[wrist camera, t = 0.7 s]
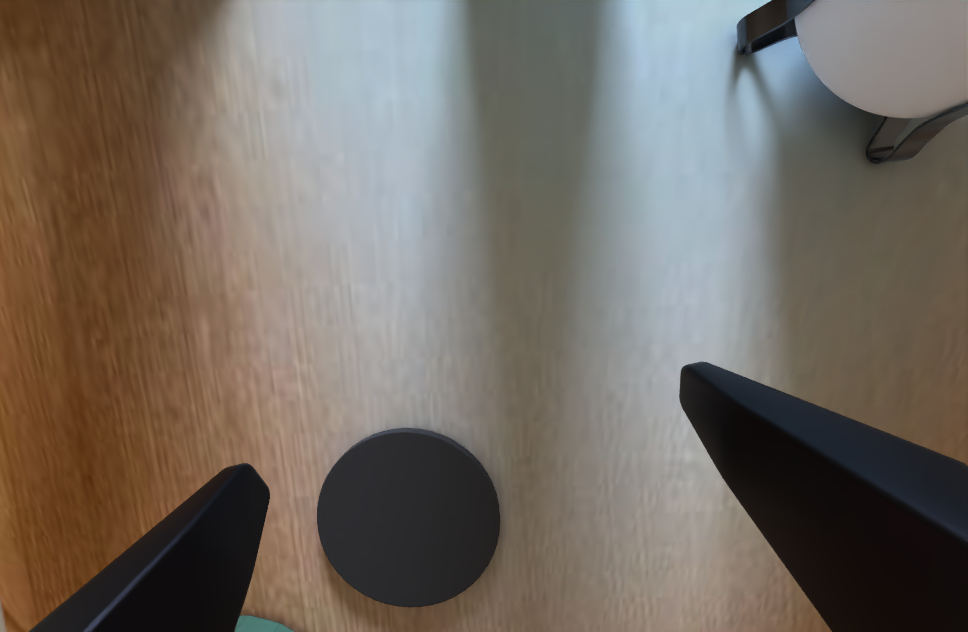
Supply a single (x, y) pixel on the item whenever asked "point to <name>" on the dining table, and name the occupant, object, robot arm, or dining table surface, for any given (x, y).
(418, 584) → the coaster
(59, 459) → the dining table surface
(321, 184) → the dining table surface
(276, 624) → the bowl
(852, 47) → the coffee press
